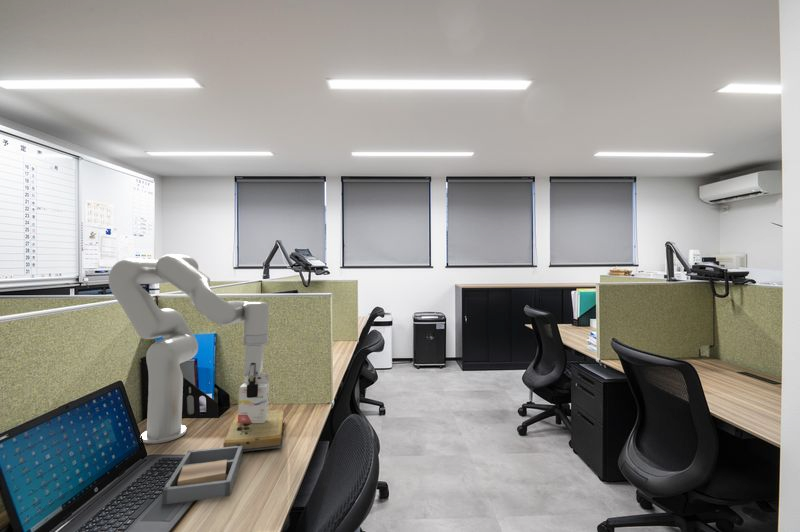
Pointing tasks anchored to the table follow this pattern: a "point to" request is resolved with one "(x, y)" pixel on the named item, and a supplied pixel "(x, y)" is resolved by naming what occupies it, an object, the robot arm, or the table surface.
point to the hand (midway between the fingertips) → (253, 392)
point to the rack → (209, 489)
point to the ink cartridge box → (254, 402)
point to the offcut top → (203, 473)
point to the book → (257, 433)
